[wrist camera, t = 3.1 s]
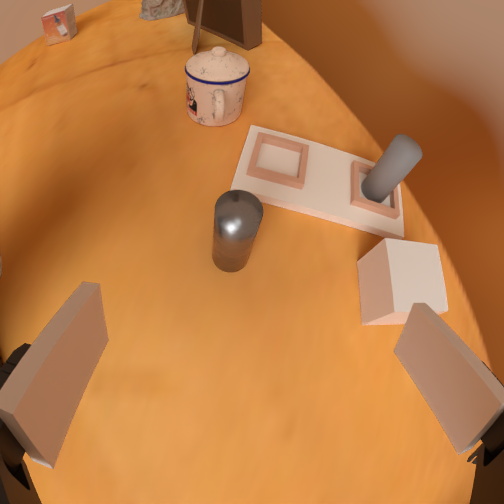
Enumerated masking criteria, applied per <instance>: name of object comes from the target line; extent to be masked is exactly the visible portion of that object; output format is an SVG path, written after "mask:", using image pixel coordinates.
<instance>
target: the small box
mask: <svg viewBox="0 0 504 504" xmlns="http://www.w3.org/2000/svg"><path fill="white" fill-rule="evenodd" d="M41 19H42V24H43V29H44V33H45V38H46V42H47V46H49V45H52V44H56V43H60V42H65V41H70V40H71V39H72V38H73V37H74V36H75V34H76V33H77V26H76V20H75V14H74V7H73V4H70V5H67V6H64V7H60V8H57V9H54V10H50V11H49V12H47V13H46V14H45V15H44V16H42V17H41Z"/></svg>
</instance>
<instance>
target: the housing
mask: <svg viewBox="0 0 504 504" xmlns="http://www.w3.org/2000/svg"><path fill="white" fill-rule="evenodd" d="M357 268H358V279H359V291H360V304H361V320H362V325H388V324H405V323H406V321H407V318H408V316H409V313H410V311H411V308H412V305H413V303H426V304H427V305H428V306H429V307H430V308H431V309H432V310H433V311H434V312H435V313H436V314H437V315H438V314H441V313H443V312H446V311H448V304H447V296H446V290H445V283H444V277H443V271H442V266H441V261H440V256H439V251H438V246H437V245H434V244H427V243H420V242H413V241H406V240H398V239H391V238H384V239H383V240H382V241H381V242H380V243H378V244H377V245H376V246H375V247H374V248H373V249H371V250H370V251H369V252H368V253H367V254H366V255H364V256H363V257H362V258H361V259H360V260H358V261H357Z"/></svg>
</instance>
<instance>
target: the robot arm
mask: <svg viewBox="0 0 504 504" xmlns="http://www.w3.org/2000/svg"><path fill="white" fill-rule="evenodd" d="M1 272H2V261H1V255H0V277H1ZM108 341H109V340H108V334H107V329H106V323H105V317H104V311H103V304H102V297H101V290H100V284H97V283H89V282H82V283H81V285H80V286H79V287H78V288H77V289H76V290H75V291H74V293H73V294H72V295H71V296H70V297H69V298H68V300H67V301H66V302H65V303H64V304H63V306H62V307H61V308H60V309H59V311H58V312H57V313H56V314H55V315H54V317H53V318H52V319H51V320H50V322H49V323H48V324H47V325H46V327H45V328H44V329H43V331H42V332H41V333H40V334H39V336H38V337H37V338H36V340H35V341H34V342H33V344H32V345H30V344H26V343H25V344H23V345H22V346H20V347H19V348H17V349H16V350H14V351H13V353H12V354H11V355H10V357H9V358H8V359H7V361H6V363H4V365H3V366H2V362H1V359H0V504H42V503H41V501H40V499H39V496H38V494H37V492H36V489H35V487H34V485H33V482H32V479H31V477H30V474H29V471H28V469H27V466H26V464H25V462H24V460H23V456H24V453H25V452H26V453H27V454H28V455H29V456H30V458H31V459H32V460H33V461H35V462H37V463H39V464H42V465H44V466H47V467H49V468H52V469H54V466H55V463H56V460H57V458H58V455H59V452H60V450H61V447H62V444H63V442H64V439H65V436H66V434H67V431H68V429H69V426H70V424H71V421H72V419H73V417H74V414H75V412H76V409H77V407H78V405H79V402H80V400H81V398H82V396H83V393H84V391H85V389H86V387H87V384H88V382H89V380H90V378H91V376H92V374H93V371H94V369H95V367H96V365H97V363H98V361H99V359H100V357H101V355H102V353H103V351H104V349H105V347H106V345H107V343H108ZM394 353H395V354H396V356H397V357H398V359H399V360H400V362H401V363H402V364H403V366H404V368H405V369H406V371H407V372H408V374H409V375H410V377H411V378H412V380H413V381H414V383H415V384H416V386H417V387H418V389H419V391H420V392H421V394H422V395H423V397H424V398H425V400H426V402H427V403H428V405H429V406H430V408H431V410H432V411H433V413H434V414H435V416H436V418H437V419H438V421H439V423H440V424H441V426H442V428H443V429H444V431H445V433H446V434H447V436H448V438H449V439H450V441H451V443H452V445H453V446H454V448H455V450H456V452H457V453H458V455H459V454H462V453H464V452H466V451H468V450H470V449H471V448H472V447H473V446H474V445H475V444H476V443H477V442H478V441H479V440H480V439H481V440H482V442H483V443H482V444H481V445H480V446H479V447H478V448H477V450H476V451H475V452H474V453H473V454H472V455H471V456H470V457H469V458H468V460H467V462H470V461H471V460H472V459H473V458H474V457H475V456H477V457H476V458H475V459H474V460H473V462H472V463H473V464H476V471H475V478H474V484H473V489H472V495H471V500H470V504H504V386H503V384H502V383H501V382H500V381H499V380H498V378H496V376H495V375H494V374H493V373H492V372H490V369H489V368H488V367H487V366H486V365H485V363H484V362H482V361H481V360H480V359H479V358H478V357H477V356H476V355H475V354H474V352H473V351H472V350H471V349H470V348H469V347H468V346H467V345H466V344H465V343H464V342H463V340H462V339H461V338H460V337H459V336H458V335H457V334H456V333H455V332H454V331H453V330H452V329H451V328H450V327H449V326H448V325H447V324H446V323H445V322H444V321H443V320H442V319H441V318H440V317H439V316H438V315H437V314H436V313H435V312H434V311H433V310H432V309H431V308H430V307H429V306H428V305H427V304H426V303H413V305H412V308H411V311H410V313H409V316H408V318H407V321H406V323H405V326H404V328H403V331H402V333H401V335H400V338H399V340H398V342H397V345H396V347H395V349H394Z"/></svg>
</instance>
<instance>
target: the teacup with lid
mask: <svg viewBox="0 0 504 504" xmlns="http://www.w3.org/2000/svg"><path fill="white" fill-rule="evenodd" d="M185 72H186V74H187V113H188V115H189V116H190V118H191V119H192V120H194V121H195V122H197V123H199V124H202V125H206V126H223V125H227V124H230V123H232V122H234V121H235V120H236V119H237V118H238V117H239V116H240V114H241V110H242V104H243V98H244V92H245V86H246V80H247V76H248V74H249V72H250V67H249V64H248V62H247V61H246V60H245V59H244V58H243V57H242V56H240V55H238V54H236V53H233V52H229V51H226V49H225V48H224V47H214V48H213V49H212V50H210V51H204V52H201V53H198V54H196V55H194V56H192V57H191V58H190V59H189V60H188V61H187V63H186V66H185Z"/></svg>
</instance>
